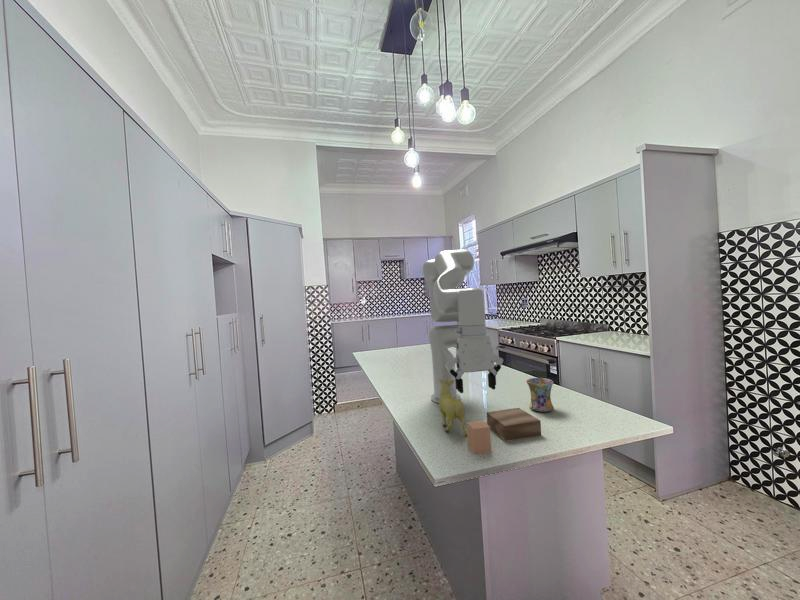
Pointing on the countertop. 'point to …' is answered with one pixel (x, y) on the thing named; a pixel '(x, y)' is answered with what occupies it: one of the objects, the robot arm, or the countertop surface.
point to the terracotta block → (478, 436)
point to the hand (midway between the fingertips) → (476, 390)
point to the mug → (540, 394)
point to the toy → (451, 407)
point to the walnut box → (513, 424)
